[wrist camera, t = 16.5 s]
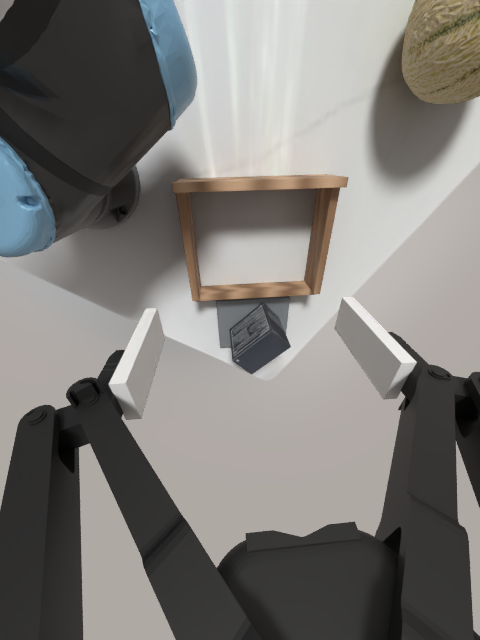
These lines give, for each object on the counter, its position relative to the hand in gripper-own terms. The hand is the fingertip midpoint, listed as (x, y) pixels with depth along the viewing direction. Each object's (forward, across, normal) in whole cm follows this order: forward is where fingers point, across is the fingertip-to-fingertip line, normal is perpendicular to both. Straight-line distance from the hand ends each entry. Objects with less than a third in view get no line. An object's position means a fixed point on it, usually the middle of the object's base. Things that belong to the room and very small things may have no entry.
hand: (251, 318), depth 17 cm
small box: (+30, +4, -22) cm, 38 cm away
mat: (+31, +4, -22) cm, 38 cm away
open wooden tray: (+31, +4, -3) cm, 31 cm away
